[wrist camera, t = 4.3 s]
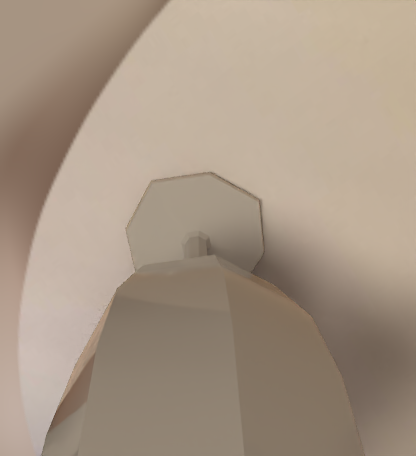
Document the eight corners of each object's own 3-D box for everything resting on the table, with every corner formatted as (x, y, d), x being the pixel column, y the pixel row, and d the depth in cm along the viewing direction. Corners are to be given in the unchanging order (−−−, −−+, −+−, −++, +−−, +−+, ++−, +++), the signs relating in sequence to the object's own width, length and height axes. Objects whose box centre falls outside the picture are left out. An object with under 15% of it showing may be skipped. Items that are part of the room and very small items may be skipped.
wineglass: (247, 306, 27) (397, 916, 7) (119, 287, 26) (-106, 922, 6) (279, 182, 24) (675, 649, 4) (135, 156, 23) (-187, 593, 3)
